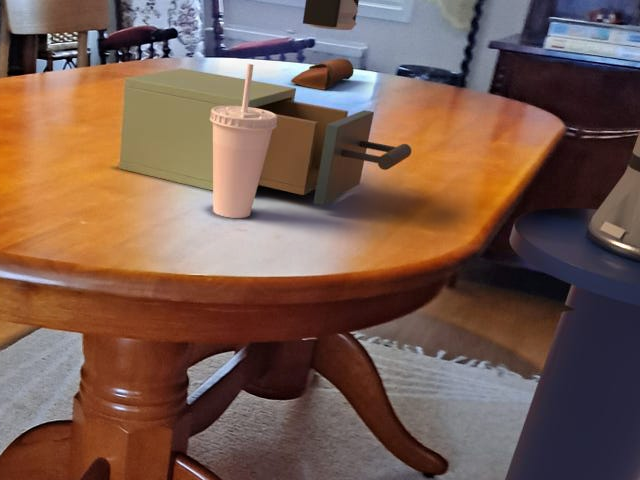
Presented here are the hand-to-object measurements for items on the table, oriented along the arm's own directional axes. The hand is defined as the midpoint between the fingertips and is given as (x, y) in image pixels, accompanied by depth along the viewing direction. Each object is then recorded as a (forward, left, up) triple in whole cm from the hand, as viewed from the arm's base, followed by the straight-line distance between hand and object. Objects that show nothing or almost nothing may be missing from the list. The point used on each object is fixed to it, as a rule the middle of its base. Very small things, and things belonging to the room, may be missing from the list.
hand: (329, 23), depth 71 cm
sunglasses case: (+33, -96, -18) cm, 103 cm away
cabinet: (+17, -13, -18) cm, 28 cm away
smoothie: (+7, -1, -18) cm, 20 cm away
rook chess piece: (0, 0, 0) cm, 0 cm away
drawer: (+4, -13, -17) cm, 22 cm away
